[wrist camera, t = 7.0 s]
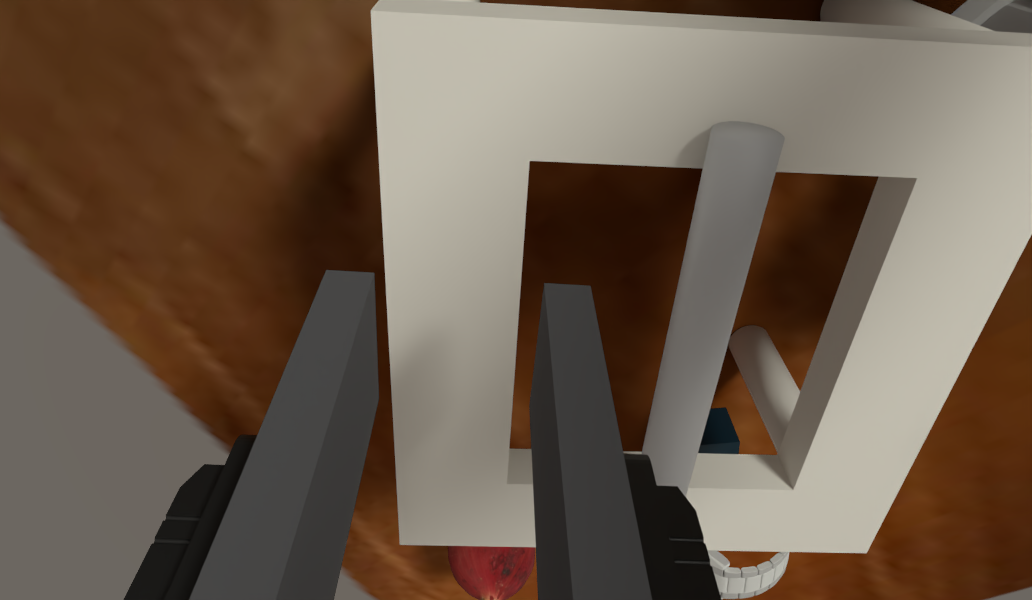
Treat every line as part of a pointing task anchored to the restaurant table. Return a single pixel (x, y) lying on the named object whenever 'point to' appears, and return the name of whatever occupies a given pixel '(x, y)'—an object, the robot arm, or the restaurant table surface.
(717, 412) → the watch
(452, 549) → the onion
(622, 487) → the grey u-shaped bracket
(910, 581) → the restaurant table surface
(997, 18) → the french press
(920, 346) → the square frame stand
